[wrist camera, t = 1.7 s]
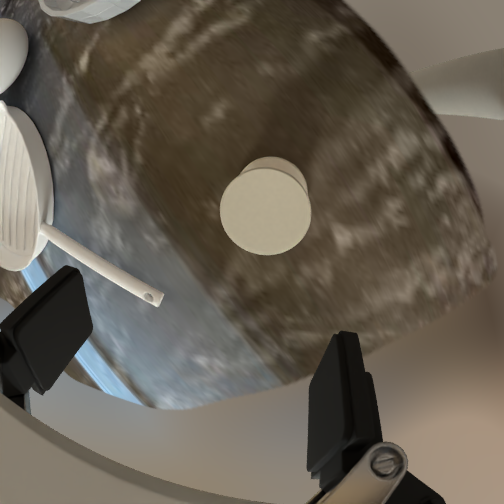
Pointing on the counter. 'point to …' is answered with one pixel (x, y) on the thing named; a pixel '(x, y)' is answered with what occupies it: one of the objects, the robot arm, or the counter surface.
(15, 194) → the pan
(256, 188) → the spool
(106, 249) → the counter surface
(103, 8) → the bowl
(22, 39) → the ornament
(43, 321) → the robot arm
